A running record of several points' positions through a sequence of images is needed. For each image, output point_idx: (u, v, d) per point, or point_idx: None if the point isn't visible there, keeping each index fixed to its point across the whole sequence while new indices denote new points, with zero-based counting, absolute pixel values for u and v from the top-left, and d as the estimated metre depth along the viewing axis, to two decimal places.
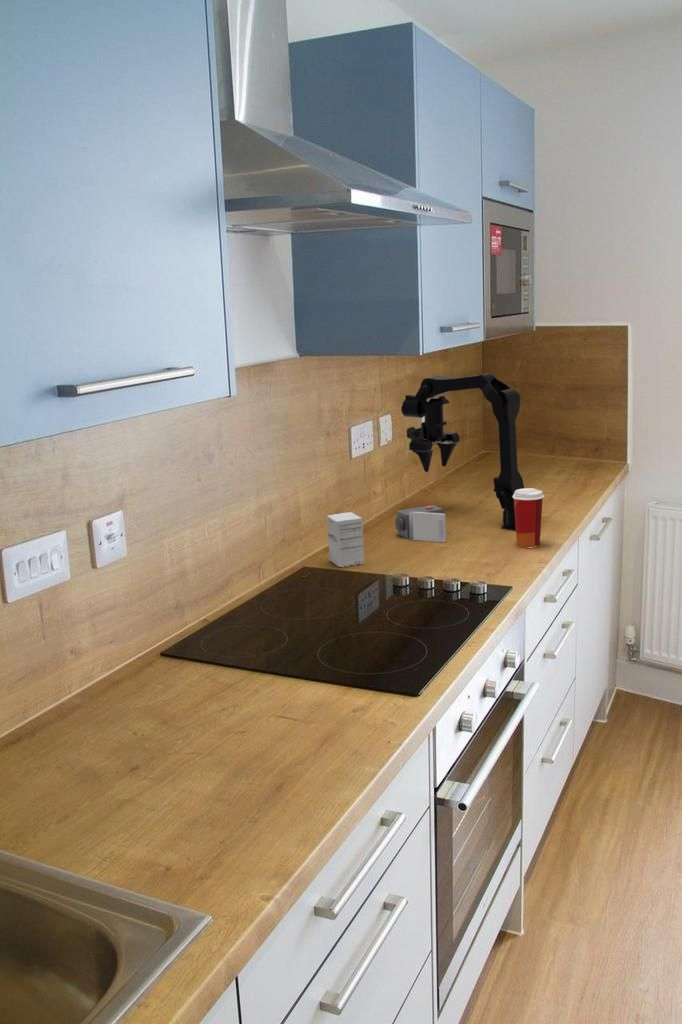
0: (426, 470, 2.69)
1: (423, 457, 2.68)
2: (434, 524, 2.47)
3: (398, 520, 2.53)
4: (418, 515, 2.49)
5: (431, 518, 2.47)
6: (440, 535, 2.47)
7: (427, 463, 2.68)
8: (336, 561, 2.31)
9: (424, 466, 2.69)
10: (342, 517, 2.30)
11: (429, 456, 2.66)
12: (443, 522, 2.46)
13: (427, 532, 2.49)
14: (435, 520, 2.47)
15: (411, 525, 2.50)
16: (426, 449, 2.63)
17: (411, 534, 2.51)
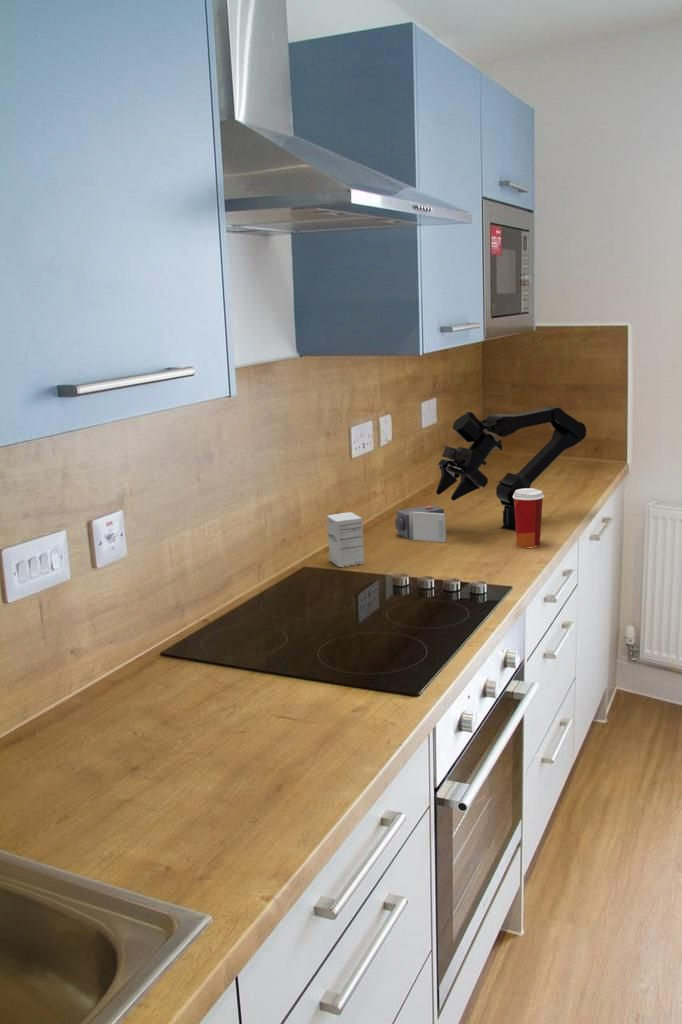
0: (454, 499, 2.43)
1: (464, 486, 2.42)
2: (434, 524, 2.47)
3: (398, 520, 2.53)
4: (418, 515, 2.49)
5: (431, 518, 2.47)
6: (440, 535, 2.47)
7: (463, 494, 2.43)
8: (336, 561, 2.31)
9: (456, 494, 2.42)
10: (342, 517, 2.30)
11: None
12: (443, 522, 2.46)
13: (427, 532, 2.49)
14: (435, 520, 2.47)
15: (411, 525, 2.50)
16: None
17: (411, 534, 2.51)
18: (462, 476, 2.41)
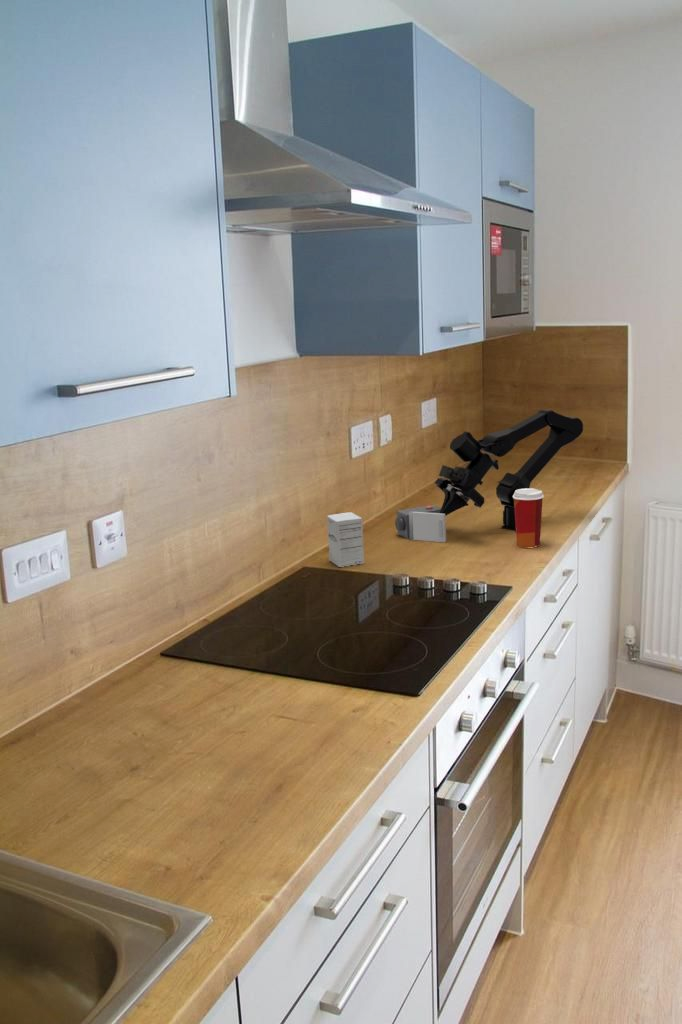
0: None
1: (453, 503, 2.46)
2: (434, 524, 2.47)
3: (398, 520, 2.53)
4: (418, 515, 2.49)
5: (431, 518, 2.47)
6: (440, 535, 2.47)
7: (452, 511, 2.47)
8: (336, 561, 2.31)
9: (445, 511, 2.47)
10: (342, 517, 2.30)
11: None
12: (443, 522, 2.46)
13: (427, 532, 2.49)
14: (435, 520, 2.47)
15: (411, 525, 2.50)
16: None
17: (411, 534, 2.51)
18: (451, 493, 2.45)
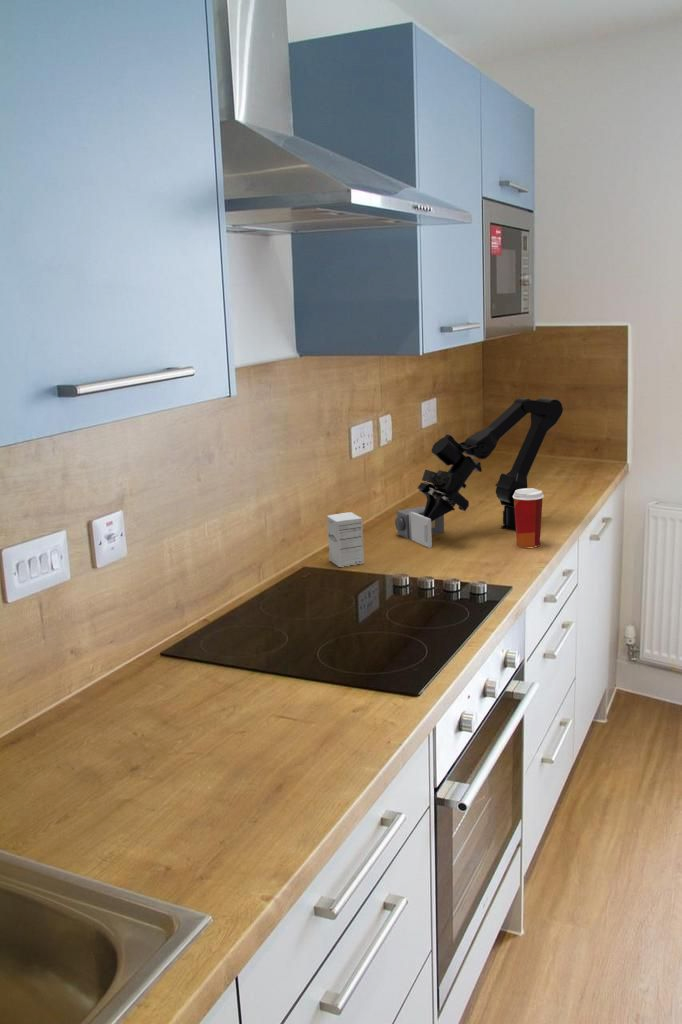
0: None
1: (439, 508, 2.43)
2: (422, 527, 2.44)
3: (398, 520, 2.53)
4: (413, 516, 2.48)
5: (421, 521, 2.45)
6: (424, 539, 2.43)
7: (438, 516, 2.44)
8: (336, 561, 2.31)
9: (432, 516, 2.43)
10: (342, 517, 2.30)
11: None
12: (427, 527, 2.42)
13: (419, 535, 2.47)
14: (422, 523, 2.44)
15: (410, 525, 2.51)
16: None
17: (410, 534, 2.51)
18: (437, 498, 2.42)
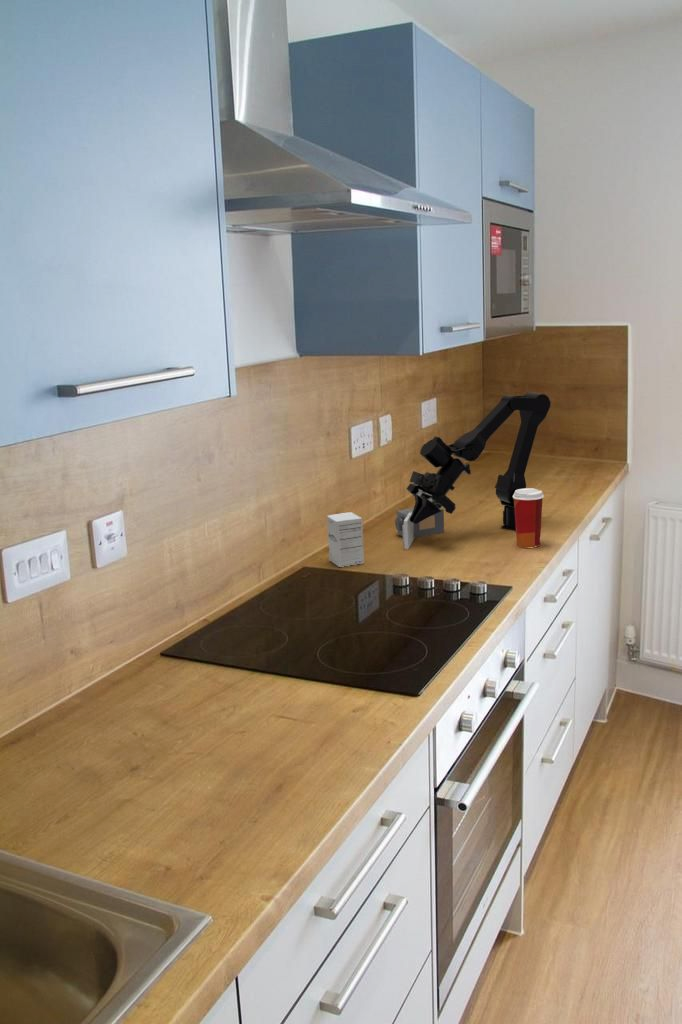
0: (416, 522, 2.43)
1: (425, 510, 2.43)
2: None
3: (398, 520, 2.53)
4: None
5: None
6: (403, 541, 2.43)
7: (424, 518, 2.43)
8: (336, 561, 2.31)
9: (418, 518, 2.43)
10: (342, 517, 2.30)
11: None
12: (404, 528, 2.42)
13: None
14: None
15: None
16: None
17: None
18: (424, 500, 2.42)
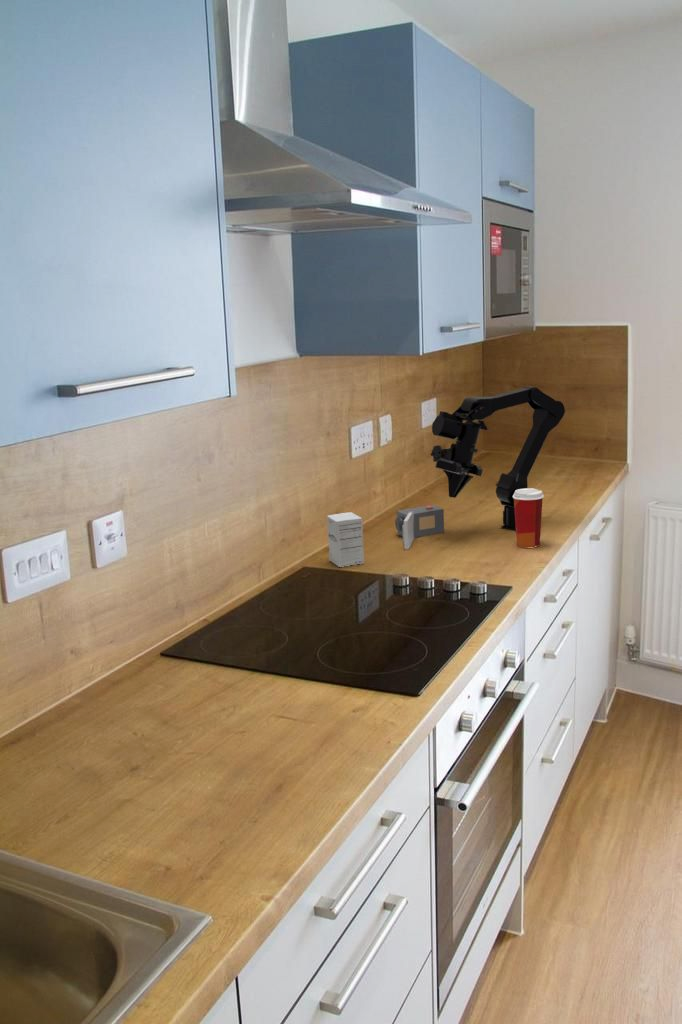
0: (451, 495, 2.46)
1: (452, 480, 2.45)
2: None
3: (398, 520, 2.53)
4: None
5: None
6: (403, 541, 2.43)
7: (455, 488, 2.45)
8: (336, 561, 2.31)
9: (450, 490, 2.46)
10: (342, 517, 2.30)
11: (460, 480, 2.44)
12: (404, 528, 2.42)
13: None
14: None
15: None
16: (456, 470, 2.38)
17: None
18: None
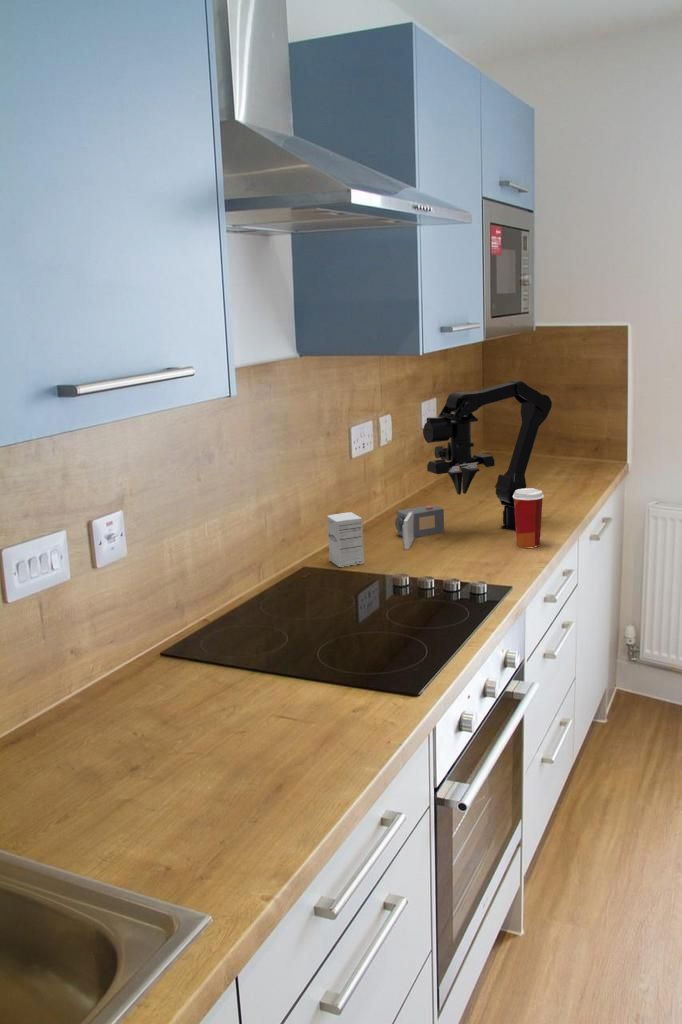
0: (458, 492, 2.48)
1: (454, 478, 2.47)
2: None
3: (398, 520, 2.53)
4: None
5: None
6: (403, 541, 2.43)
7: (457, 485, 2.46)
8: (336, 561, 2.31)
9: (456, 488, 2.48)
10: (342, 517, 2.30)
11: (458, 478, 2.44)
12: (404, 528, 2.42)
13: None
14: None
15: None
16: (440, 472, 2.41)
17: None
18: None
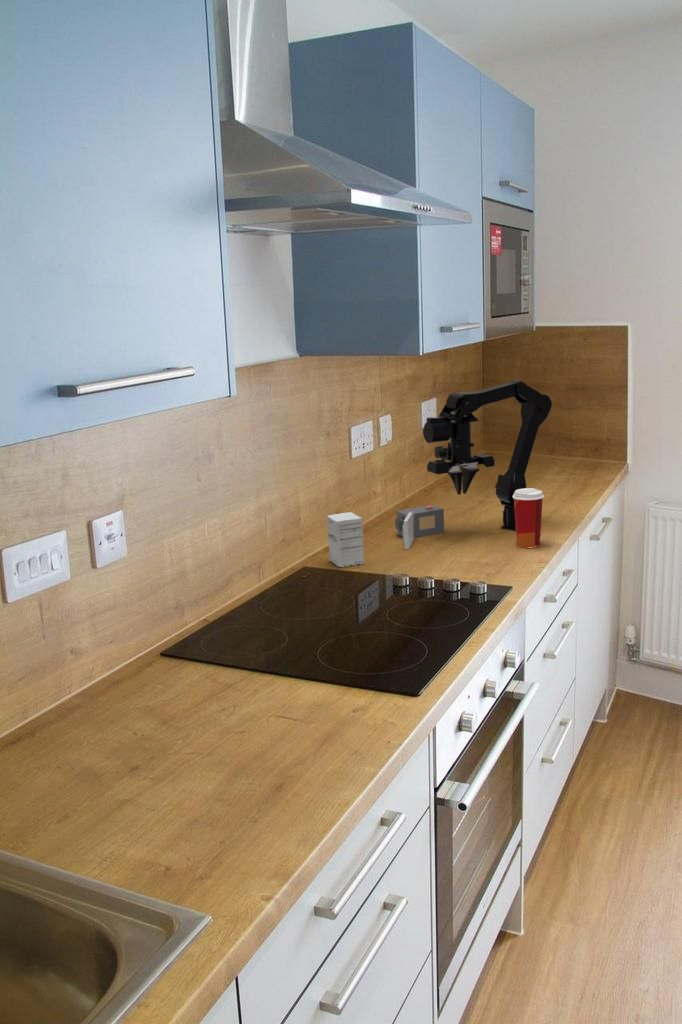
0: (458, 492, 2.48)
1: (454, 478, 2.47)
2: None
3: (398, 520, 2.53)
4: None
5: None
6: (403, 541, 2.43)
7: (457, 485, 2.46)
8: (336, 561, 2.31)
9: (456, 488, 2.48)
10: (342, 517, 2.30)
11: (458, 478, 2.44)
12: (404, 528, 2.42)
13: None
14: None
15: None
16: (440, 472, 2.41)
17: None
18: None
